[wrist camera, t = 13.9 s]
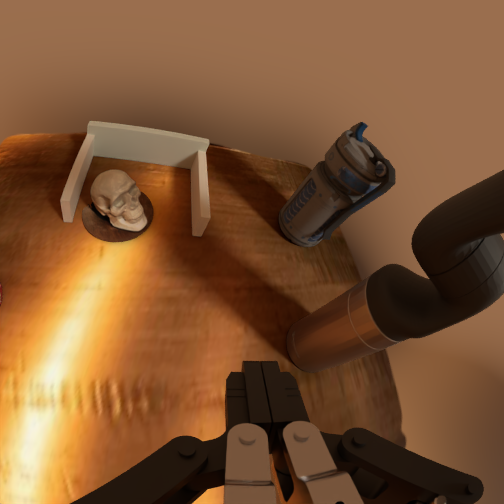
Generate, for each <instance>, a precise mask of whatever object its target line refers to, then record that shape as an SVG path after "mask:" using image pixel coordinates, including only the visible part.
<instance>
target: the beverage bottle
mask: <svg viewBox="0 0 504 504" xmlns="http://www.w3.org/2000/svg"><path fill="white" fill-rule="evenodd" d="M366 128H367V125H366V124H365V123H363V122H360V123H358V124H356V125H355V126H353V127H351V129H350V130H347V131H345V132H344V133H342V135H341V136H340V137H339V138H338V139H337V140H336V141H335V143H334V144H333V145H332V146H331V148H330V149H329V150H328V152H327V153H326V154H325V161H321V162H319V163H318V164H317V165H316V166H315V168H314V169H313V170H312V171H311V172H310V174H309V175H308V176H307V177H306V179H305V180H304V181H303V182H302V184H301V185H300V186H299V187H298V189H297V190H296V191H295V192H294V194H293V195H292V196H291V197H290V199H289V200H288V201H287V202H286V204H285V205H284V206H283V207H282V209H281V210H280V213H279V225H280V228H281V230H282V232H283V233H284V235H285V236H286V237H287V238H288V239H291V241H292V242H293V243H295V244H297V245H299V246H302V247H310V246H315V245H317V244H318V243H319V242H320V241H321V240H323V239H328V240H330V237H331V234H332V232H333V231H334V230H335V229H336V228H337V227H338V226H339V225H341V224H342V223H343V222H344V221H345V220H346V219H347V218H348V217H349V216H350V215H352V214H353V213H355V212H356V211H358V210H359V209H361V208H362V207H364V206H365V205H367V204H369V203H370V202H372V201H373V200H375V199H376V198H378V197H379V196H381V195H383V194H384V193H386V192H387V191H388V190H389V189H390V188H391V187H392V186H393V185H394V184H395V169H394V168H393V166H392V165H391V163H390V162H389V160H387V159H385V158H384V156H383V155H382V154H381V153H380V151H379V150H378V149H377V148H376V147H375V146H374V145H373V144H372V143H371V142H369V141H368V140H367V139H366V138H364V137H363V136H362V134H363V131H364V130H365V129H366ZM382 163H383V164H382ZM381 182H382V183H381ZM380 183H381V184H380ZM362 196H363V197H362Z"/></svg>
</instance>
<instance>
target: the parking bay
mask: <svg viewBox="0 0 504 504" xmlns="http://www.w3.org/2000/svg"><path fill="white" fill-rule="evenodd" d="M208 146H209V139H205V138H200V137H194V136H190V135H185V134H180V133H175V132H169V131H163V130H157V129H151V128H145V127H138V126H131V125H123V124H115V123H106V122H97V121H90V122H89V124H88V131H87V136H86V138H85V140H84V142H83V144H82V147H81V149H80V151H79V153H78V156H77V158H76V160H75V163H74V165H73V167H72V170H71V172H70V175H69V178H68V180H67V183H66V186H65V188H64V191H63V194H62V197H61V200H60V202H61V209H62V215H63V220H64V222H72V221H73V217H74V214H75V210H76V206H77V203H78V200H79V196H80V193H81V190H82V187H83V184H84V181H85V178H86V175H87V172H88V169H89V166H90V163H91V161H92V158H93V156H100V157H109V158H118V159H126V160H133V161H141V162H148V163H154V164H161V165H167V166H173V167H179V168H185V169H191V211H192V236H199V237H201V236H202V234H203V232H204V230H205V228H206V226H207V224H208V222H209V220H210V218H211V217H210V205H209V192H208V178H207V163H206V151H207V148H208Z"/></svg>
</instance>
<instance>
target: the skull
mask: <svg viewBox="0 0 504 504" xmlns="http://www.w3.org/2000/svg"><path fill="white" fill-rule="evenodd" d="M90 194H91V198H92V200H93V202H92V204H91V207H92V209H91V208H90V205H89V204H88V206H87V207H84V208H83V209H84V210H83V211H82V219H83V223H84V225H85V227H86V229H87V230H88V231H89V232H90V233H91V234H92V235H93V236H95V237H97V238H98V239H101V240H104V241H108V242H123V241H128V240H131V239H134V238H136V237H138V236H139V235H141V234H142V233H143V232H145V231H146V230H147V228H148V227H149V226H150V224H151V222H152V219H153V206H152V204H151V201H150V200H149V199H148V197H147V196H146V195H145V194H144V193H142V192H141V191H140V190H139V188H138V187H137V186H136V182H135V181H134V180H132V179H131V178H130V177H129V176H128V174H127V173H126V172H124V171H121V170H108V171H105V172H103V173H101V174H99V175H98V176H97V177H96V179H95V180H94V182H93V184H92V187H91V190H90Z"/></svg>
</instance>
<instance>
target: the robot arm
mask: <svg viewBox="0 0 504 504" xmlns="http://www.w3.org/2000/svg"><path fill="white" fill-rule="evenodd" d="M501 233H504V170H502V171H500V172H499V173H497V174H495V175H493V176H491V177H489V178H487V179H485V180H483V181H481V182H479V183H477V184H476V185H474V186H472V187H470V188H468V189H466V190H464V191H462V192H460V193H459V194H457V195H455V196H453V197H451V198H449V199H448V200H446V201H444V202H443V203H442V204H440V205H439V206H437V207H436V208H435V209H433V210H432V211H431V212H430V213H429V214H427V215H426V216H425V217H424V218H423V219H422V221H421V222H420V223H419V224H418V226H417V228H416V229H415V231H414V234H413V237H412V250H413V253H414V255H415V257H416V259H417V261H418V262H419V264H420V266H421V267H422V269H423V270H424V271H425V273H426V274H427V276H428V277H429V279H427V278H424V277H421V276H419V275H417V274H415V273H414V272H412V271H410V270H409V269H407V268H405V267H403V266H401V265H398V264H389V265H386V266H384V267H382V268H380V269H379V270H377V271H376V272H375V273H373V274H372V275H370V276H369V277H367V278H366V279H364V280H363V281H361V282H360V283H358V284H357V285H355V286H354V287H352V288H351V289H349V290H348V291H346V292H345V293H343V294H342V295H340V296H338V297H337V298H335V299H334V300H332V301H331V302H329V303H327V304H326V305H324V306H322V307H321V308H319V309H318V310H316V311H314V312H313V313H311V314H309V315H307V316H306V317H304V318H303V319H301V320H299V321H297V322H296V323H294V324H293V325H292V326H291V328H290V330H289V331H288V334H287V340H286V344H287V350H288V354H289V356H290V358H291V360H292V361H293V362H294V364H295V365H296V366H297V367H298V368H300V369H302V370H303V371H306V372H312V373H314V372H319V371H322V370H325V369H329V368H332V367H335V366H338V365H341V364H344V363H347V362H350V361H353V360H356V359H359V358H361V357H364V356H367V355H370V354H372V353H375V352H377V351H380V350H383V349H385V348H387V347H389V346H392V345H394V344H397V343H399V342H402V341H404V340H406V339H409V338H422V337H425V336H428V335H430V334H433V333H435V332H438V331H440V330H442V329H445V328H447V327H449V326H452V325H454V324H456V323H459V322H461V321H463V320H465V319H468V318H470V317H472V316H474V315H476V314H478V313H479V312H481V311H483V310H484V309H486V308H487V307H489V306H490V305H492V304H493V303H494V302H495V301H496V300H498V299H499V298H500V296H501V295H502V294H503V293H504V240H503V238H502V237H501V235H500V234H501ZM225 418H226V431H225V433H224V434H223V435H221V436H220V437H218V438H216V439H213V440H208V441H203V442H202V441H201V440H200V439H198V438H195V437H192V436H179V437H176V438H174V439H172V440H171V441H169V442H168V443H167V444H165V445H164V446H163V447H161V448H160V449H158V450H157V451H156V452H154V453H153V454H151V455H150V456H148V457H147V458H145V459H144V460H142V461H141V462H140V463H138V464H137V465H135V466H133V467H132V468H130V469H129V470H127V471H126V472H124V473H123V474H121V475H119V476H118V477H116V478H115V479H113V480H111V481H110V482H108V483H106V484H105V485H103V486H101V487H100V488H98V489H96V490H94V491H93V492H91V493H89V494H87V495H85V496H84V497H82V498H80V499H78V500H76V501H74V502H72V503H70V504H192V503H193V502H194V501H195V500H196V499H197V498H199V497H200V496H201V495H202V494H203V493H204V492H205V491H206V490H207V489H210V488H215V487H219V486H223V485H224V503H223V504H276V494H275V487H274V484H273V483H272V482H271V476H270V462H269V454H272V456H273V463H272V472H273V476H274V479H275V483H276V486H277V490H278V493H279V496H280V500H281V504H474V503H475V502H477V501H478V500H479V499H480V498H481V497H482V495H483V491H484V487H483V484H482V482H481V480H480V479H478V478H477V477H474V476H471V475H468V474H465V473H463V472H460V471H457V470H455V469H452V468H449V467H447V466H444V465H441V464H439V463H436V462H434V461H432V460H429V459H427V458H425V457H422V456H420V455H418V454H416V453H413V452H411V451H409V450H407V449H405V448H403V447H400V446H398V445H396V444H394V443H392V442H390V441H388V440H386V439H384V438H382V437H380V436H378V435H376V434H374V433H372V432H370V431H368V430H366V429H363V428H352V429H349V430H347V431H346V432H345V433H344V434H343V435H336V434H328V433H324V432H321V431H319V430H318V428H317V427H316V426H315V425H313V424H311V423H310V421H309V418H308V415H307V412H306V409H305V406H304V403H303V400H302V397H301V394H300V391H299V389H298V385H297V382H296V379H295V378H294V377H293V376H292V375H291V374H290V373H289V372H280V369H279V365H278V362H277V361H243V362H242V371H241V372H231V373H230V374H229V376H228V378H227V379H226V394H225Z"/></svg>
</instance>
